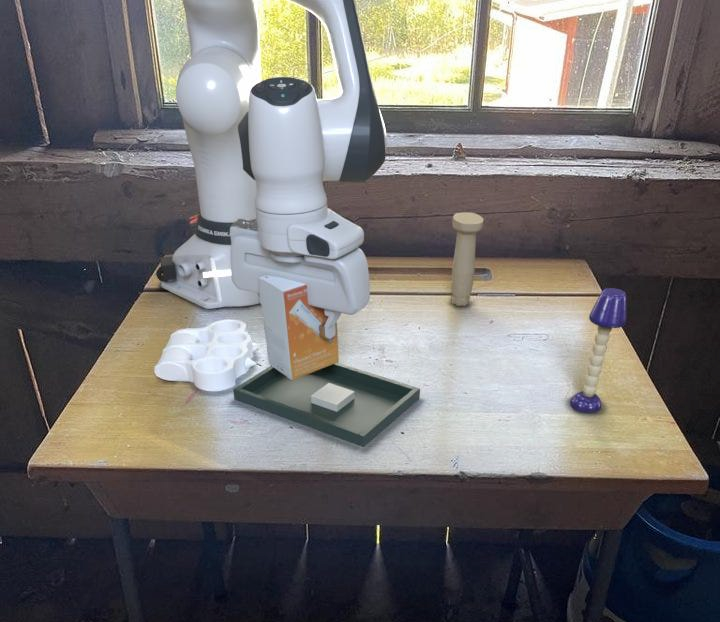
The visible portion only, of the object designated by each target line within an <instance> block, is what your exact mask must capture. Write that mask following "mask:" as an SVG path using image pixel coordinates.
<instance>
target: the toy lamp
mask: <svg viewBox="0 0 720 622" xmlns="http://www.w3.org/2000/svg"><path fill="white" fill-rule="evenodd" d="M588 320H589V321H590V322H591V323H592V324H593V325H596V326H597V332H596V334H595V336H594V341H595V342H594V343H593V345H592V352H591V354H590V357H589V365H588V366H587V371H586V373H587V374H586V376H585V378H584V385H583V387H582V391H579V392H576V393H575V394H574V395H573V396H572V397H571V400H570V401H569V404H570V406H571V407H572V409H574V410H576V411H577V412H581V413H587V414H592V413H593V414H594V413H598V412H600V410H602V400H601V397H600V396H598V395H597V394H596V393H597V385H598V384H599V381H600V374H601V373H602V370H603V369H602V367H603V366H602V365H603V363H604V360H605V354H606V352H607V348H608V345H607V344H608V343H609V341H610V333H611V332H612V330H613V329H620V328H622V327H624V326H625V325H626V323H627V294H626V292H625V291H624V290H622V289H618V288H613V287H612V288H611V287H608V288H604V289H602V291H601V292H600V294H599V295H598V297H597V299H596V301H595V303H594V305H593V306H592V309H591V311H590V312H589V316H588Z"/></svg>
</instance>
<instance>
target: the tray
mask: <svg viewBox="0 0 720 622" xmlns="http://www.w3.org/2000/svg"><path fill="white" fill-rule="evenodd" d="M328 383H331V384H334V385H337V386H340V387H343V388H346V389H349V390H352V391H354V392H355V398H354V399H353V400H352V401H351V402H349V403H348V404H347V405H345V406H344V407H343V408H342V409H340V410H339V411H338V412H336V411H333V410H330V409H327V408H324V407H321V406H319V405H316V404H313V403H311V395H313V394H314V393H315V392H317V391H318V390H320V389H321V388H322V387H324V386H325V385H327V384H328ZM232 391H233V399H234V400H235V401H237V402H240V403H242V404H245V405H248V406H250V407H253V408H256V409H258V410H261V411H265V412H267V413H270V414H272V415H275V416H277V417H281V418H283V419H286V420H289V421H291V422H294V423H296V424H298V425H299V424H300V425H302V426H305V427H308V428H310V429H312V430H315V431H318V432H320V433H324V434H326V435H329V436H332V437H335V438H337V439H340V440H342V441H345V442H348V443H351V444H353V445H356V446H359V447H362V448H365V447H366V446H367V445H369V443H370V442H372V441H373V440H374V439H375V438H376V437H377V436H379V435H380V434H381V433H382V432H383V431H384V430H386V429H387V428H388V427H389V426H390V425H391V424H393V423H394V422H395V421H396V420H397V419H398V418H399V417H401V416H402V415H403V414H404V413H405V412H406V411H407V410H409V409H410V408H411V407H412V406H413V405H415V404H416V403H417V402H418V401H419V400H420V398H421V397H420V396H421V388H420V387H416V386H413V385H410V384H407V383H404V382H401V381H397V380H394V379H392V378H388V377H386V376H385V377H384V376H381V375H378V374H375V373H372V372H369V371H366V370H363V369H359V368H356V367H353V366H349V365H347V364H343V363H340V362H338V363H336V364H332V365H329V366H327V367H324V368H322V369H319V370H317V371H314V372H312V373H309V374H307V375H304V376H302V377H299V378H297V379H295V380H291V379H289V378H288V377H287V376H285V375H284V374H282V373H281V372H279V371H278V370H277V369H275V368H274V367H272V366H271V365H270V366H268V367H266V368H265V369H263V370H262V371H260V372H258V373H257V374H255V375H253V376H252V377H251V378H249V379H247V380H246V381H243V383H241V384H239V385H237V386H236V387H234V388H233V389H232Z"/></svg>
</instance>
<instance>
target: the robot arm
mask: <svg viewBox="0 0 720 622" xmlns="http://www.w3.org/2000/svg"><path fill="white" fill-rule="evenodd" d="M181 1H182V4H183V9H184V13H185V20H186V26H187V31H188V39H189V47H190V58H188V60H186V62H185V63H183V66H181V69H180V71H179V73H178V75H177V79H176V86H175V87H176V88H175V100H176V104H177V108H178V111H179V113H180V115H181V119H182V122H183V127H184V132H185V135H186V139H187V143H188V146H189V151H190V153H191V158H192V161H193V166H194V171H195V172H194V173H195V180H196V181H195V182H196V189H197V195H198V196H197V197H198V205H199V212H198V214H195V215H192V216H190V217H189V219H192V220H191V221H190V222H189V224H191V225H192V224H195V223H196V226H195V231H194V234H193V235H192V236H191V237H189V238H188V239H187V240H186V241H185V242H184V243H183V244H182V245H180V246H179V247H178V248H177V249H176V250H175V251H174V253H173V255H170V256H161V257H159V263H160V266H159V267H158V268H157V270H156V272H155V276H156V278H157V279H158V280H159V281H160V283H161V284H160V287H161V288H162V289H163V290H166V291H168V292H170V293H172V294H173V295H176V296H179V297H181V298H182V299H185V300H186V301H189V302H190V303H193V304H195V305H197V306H199V307H201V308H202V309H207V310H213V309H219V308H227V307H228V308H231V307H232V308H233V307H247V306H254V305H258V304H260V306H262V304H261V296H260V289H259V281H258V277H262V276H265V275H268V276H274V277H279V278H284V279H289V280H292V281H296V282H300V283H304V284H306V285H307V297H308V304H309V305H310V306H315V307H319V308H323V309H324V312H325V316H329V317H328V319H327V321H325V322H324V323H323V324H321V325H319V331H320V333H319V335H320V337H324V338H328V339H331V338H332V337H334V336H335V333H336V329H335V323H336V322H338V320H339V319H340V317H341V315H342V314H345V315H350V316H353V315H356V314H357V313H358V312H360V311H361V310H363V309H364V308H365V307H367V305H368V303H369V302H370V297H371V285H370V284H371V283H370V272H369V264H368V259H367V257H366V255H365V253H364V251H363V250H362V249H361V248H359V247H360V246H361V245H363V243H364V242H365V233H364V230H363V228H362V227H361V226H359V225H357V224H356V223H353V222H351V221H349V220H348V219H346V218H344V217H342V216H341V215H339V214H338V213H336V212H335V211H333V210H332V209H331V208H328V198H327V193H326V191H325V187H324V182H337V181H338V182H339V183H359V184H360V183H363V184H364V183H365V182H366V181H368V180H369V179H371V178H372V177H373V176H374V175H375V174H376V173H377V172H378V171H379V170H380V168H381V167H382V166H383V165H384V163H385V161H386V156H387V155H386V154H387V148H388V147H387V146H388V145H387V144H388V140H387V139H388V138H387V131H386V126H385V122H384V119H383V116H382V112H381V110H380V107H379V103H378V99H377V96H376V92H375V88H374V84H373V79H372V75H371V71H370V66H369V65H370V64H369V62H368V61H369V60H368V55H367V51H366V46H365V42H364V37H363V32H362V27H361V23H360V18H359V14H358V9H357V4H356V0H287V1H288V2H290V3H293V4H295V5H297V6H299V7H302V8H303V9H305V10H306V11H309V12H310V13H311V14H313V15H314V16H315V17H316V18H317V19H318V20H319V21H320V22H321V24H322V25H323V27H324V29H325V31H326V34H327V37H328V41H329V46H330V50H331V55H332V59H333V63H334V68H335V72H336V77H337V81H338V86H339V90H340V92H339V94H338V95H337V96H336V97H331V98H317V93H316V91H315V88H314V86H313V85H312V84H311V83H310V82H308V81H307V80H303V79H301V78H296V77H294V76H276V77H269V78H266V79H263V80H262V70H261V65H262V64H261V47H260V45H261V43H260V23H259V13H258V11H259V10H258V0H181Z"/></svg>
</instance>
